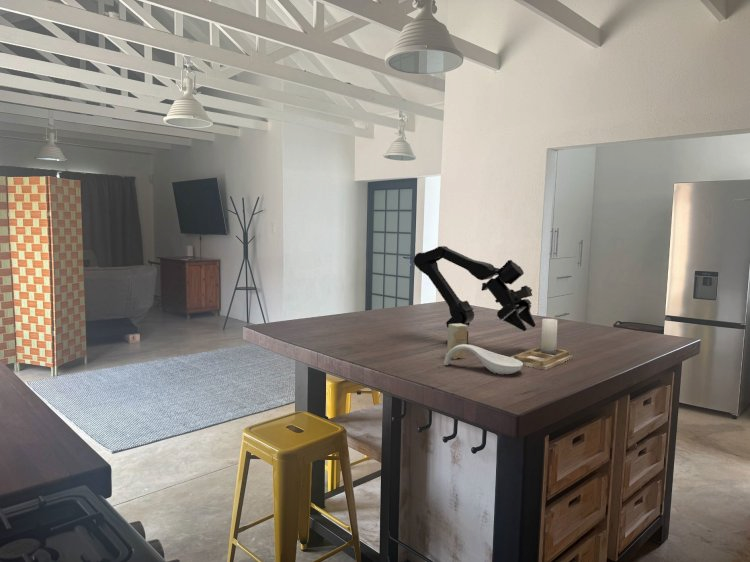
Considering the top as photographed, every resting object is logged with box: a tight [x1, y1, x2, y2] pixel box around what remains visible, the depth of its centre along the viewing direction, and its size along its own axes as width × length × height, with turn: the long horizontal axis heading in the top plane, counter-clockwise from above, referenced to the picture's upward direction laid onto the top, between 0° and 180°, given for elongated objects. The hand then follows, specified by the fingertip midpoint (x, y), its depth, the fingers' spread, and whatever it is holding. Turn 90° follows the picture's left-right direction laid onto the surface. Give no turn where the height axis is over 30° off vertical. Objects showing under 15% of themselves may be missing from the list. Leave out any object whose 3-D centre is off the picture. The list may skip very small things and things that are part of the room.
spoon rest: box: [443, 344, 524, 375], centre depth 161 cm, size 24×12×7 cm, turn 67°
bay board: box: [510, 346, 573, 371], centre depth 175 cm, size 14×21×2 cm, turn 138°
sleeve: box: [540, 318, 558, 355], centre depth 177 cm, size 5×5×12 cm
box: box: [446, 323, 469, 360], centre depth 175 cm, size 5×4×11 cm
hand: (530, 328), depth 181 cm, fingers open, 9 cm apart
